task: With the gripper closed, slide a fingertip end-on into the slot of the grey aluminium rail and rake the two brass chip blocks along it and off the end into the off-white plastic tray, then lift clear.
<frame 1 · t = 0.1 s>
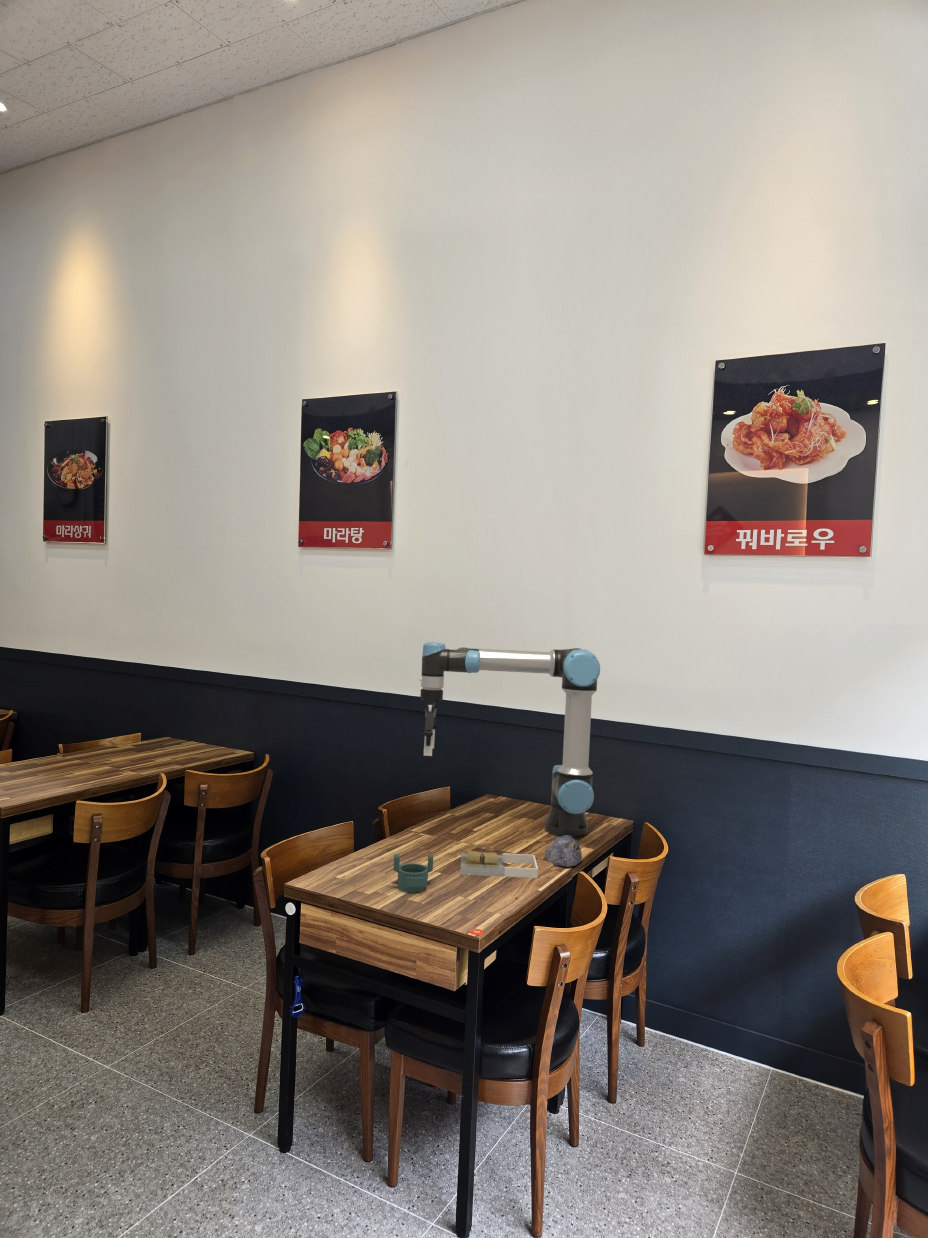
hand: (428, 752, 261), 28 cm above the table, fingers open, 13 cm apart
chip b: (473, 867, 228), point 1 cm above the table, touching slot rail
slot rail: (481, 871, 228), on the table
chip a: (489, 868, 228), point 1 cm above the table, touching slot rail
rock: (561, 864, 239), on the table
tray: (519, 873, 228), on the table
teal round pot: (412, 888, 212), on the table
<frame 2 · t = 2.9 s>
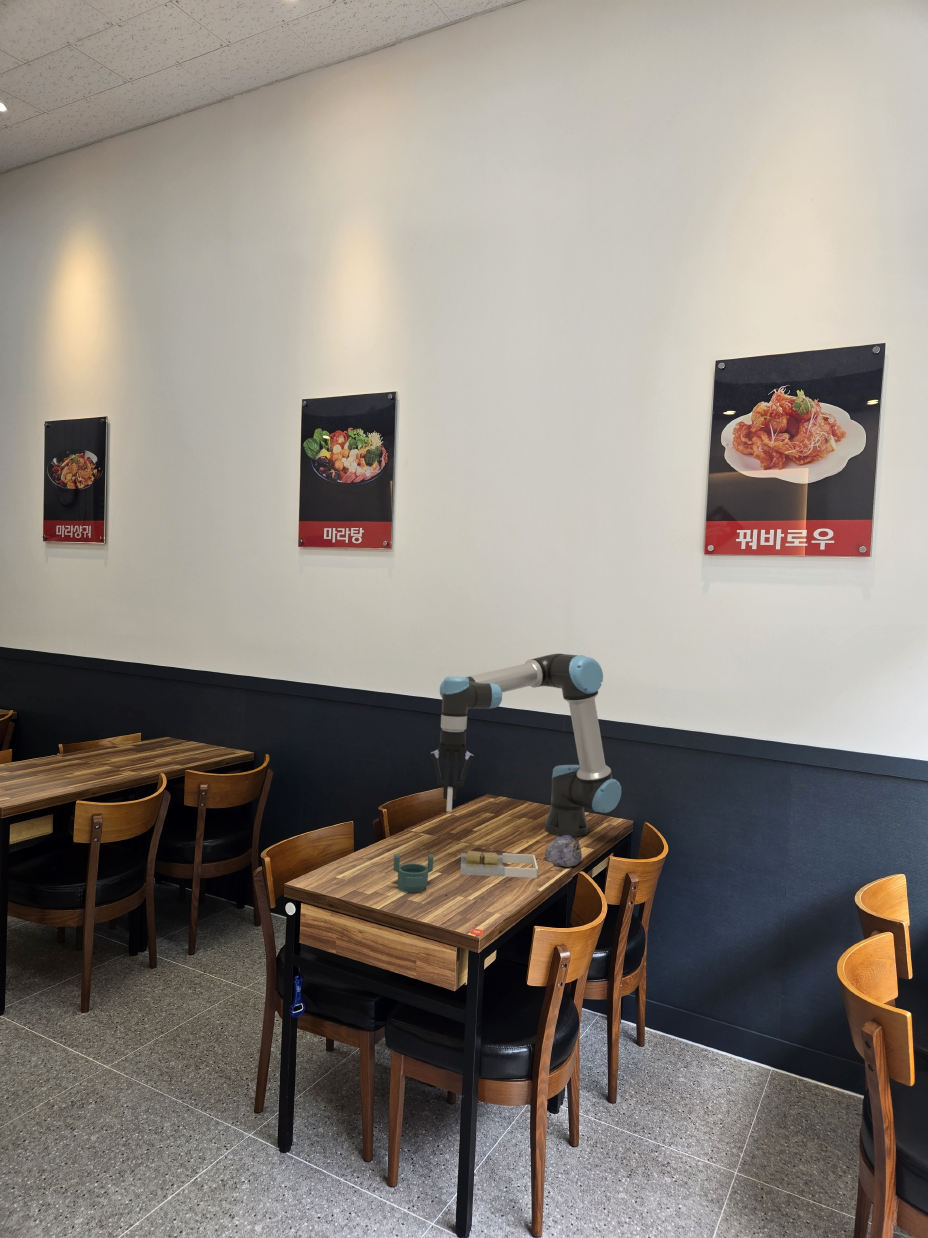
hand: (449, 810, 228), 17 cm above the table, fingers closed
nothing on the table moved.
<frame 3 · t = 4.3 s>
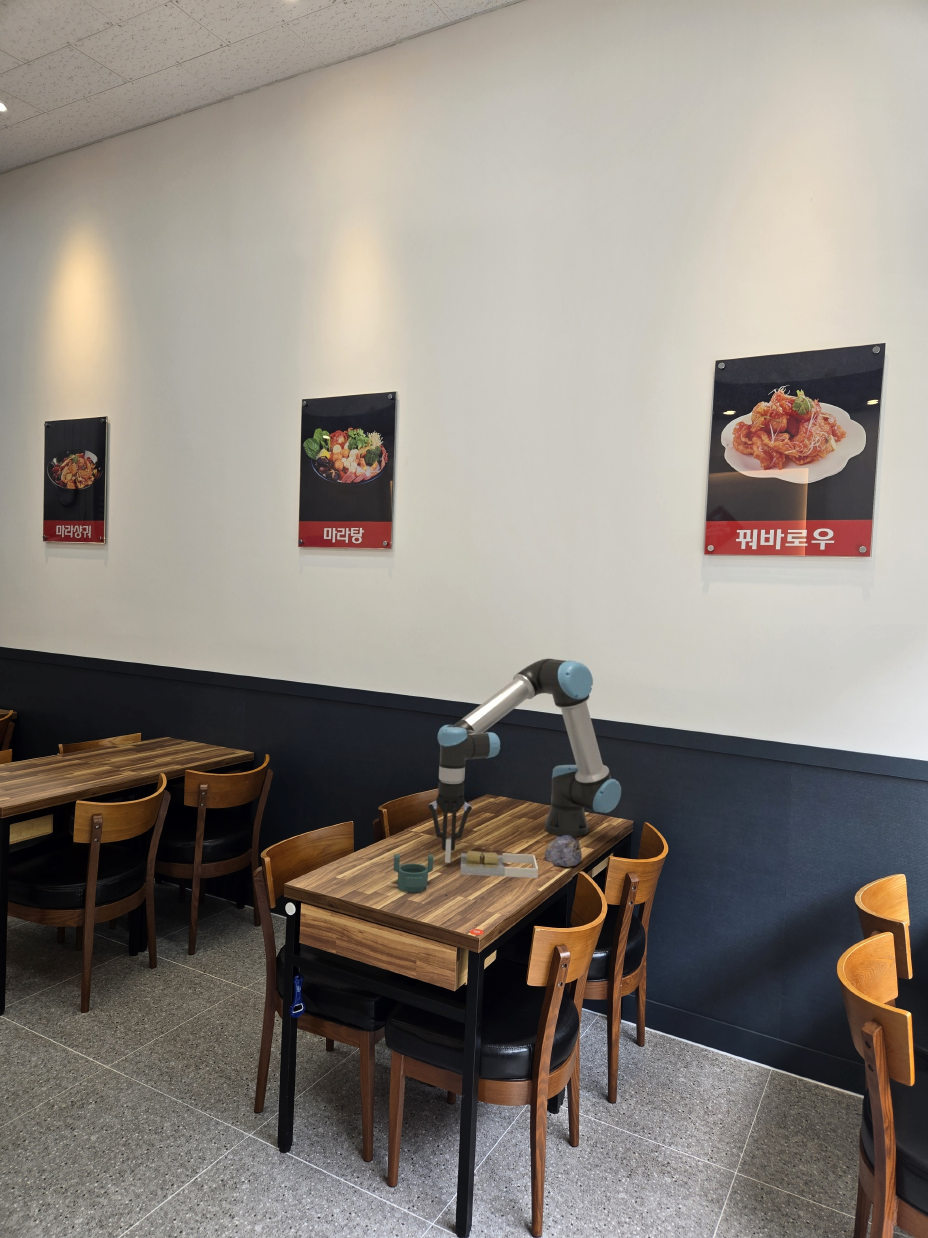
hand: (447, 861, 228), 2 cm above the table, fingers closed
nothing on the table moved.
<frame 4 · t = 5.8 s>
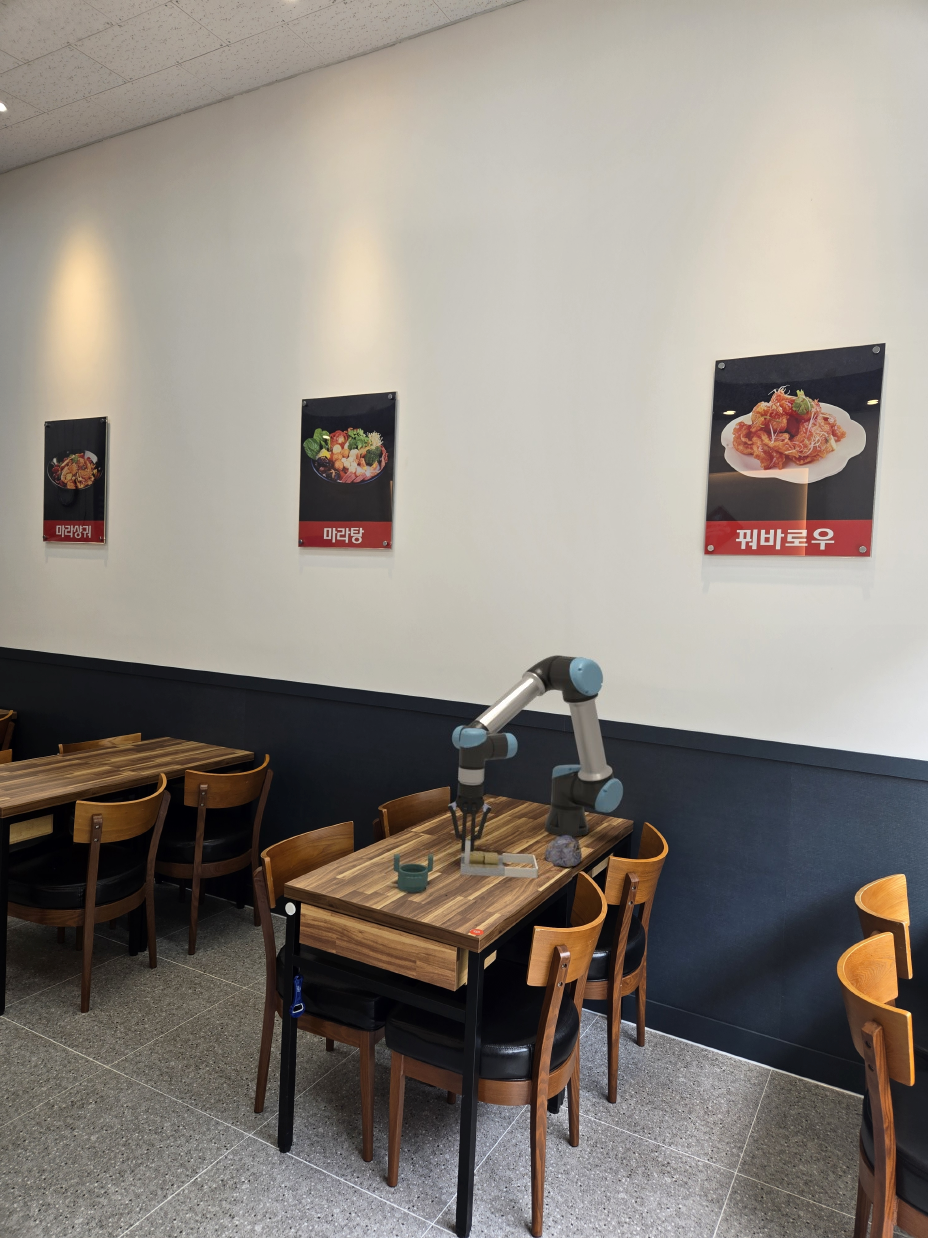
hand: (466, 862, 228), 2 cm above the table, fingers closed
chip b: (476, 867, 229), point 1 cm above the table, touching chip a, gripper
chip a: (490, 868, 228), point 1 cm above the table, touching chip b, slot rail
everything else where it was.
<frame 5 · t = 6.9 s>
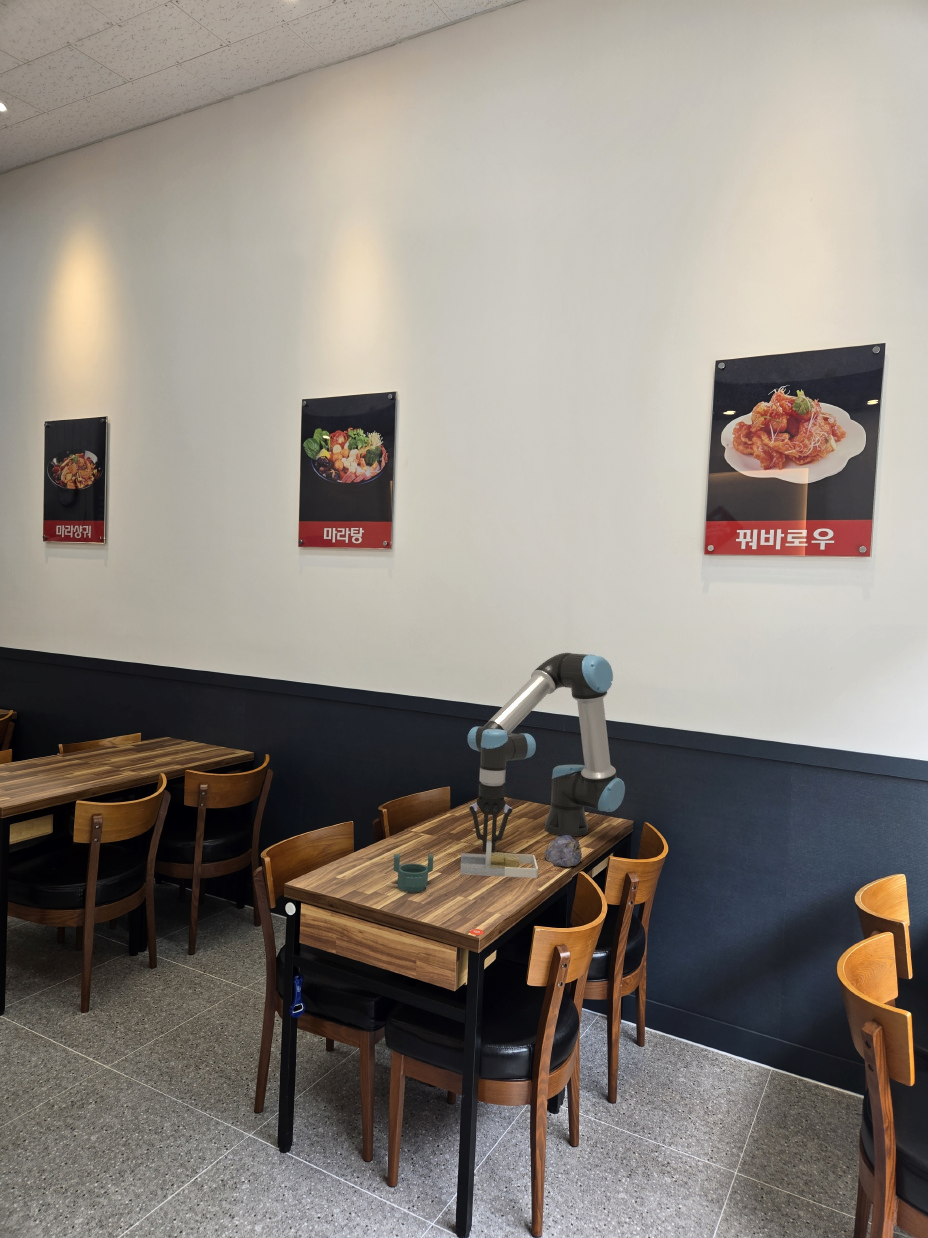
hand: (487, 863, 228), 2 cm above the table, fingers closed
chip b: (496, 868, 228), point 1 cm above the table, touching gripper
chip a: (510, 871, 228), point 1 cm above the table
everything else where it was.
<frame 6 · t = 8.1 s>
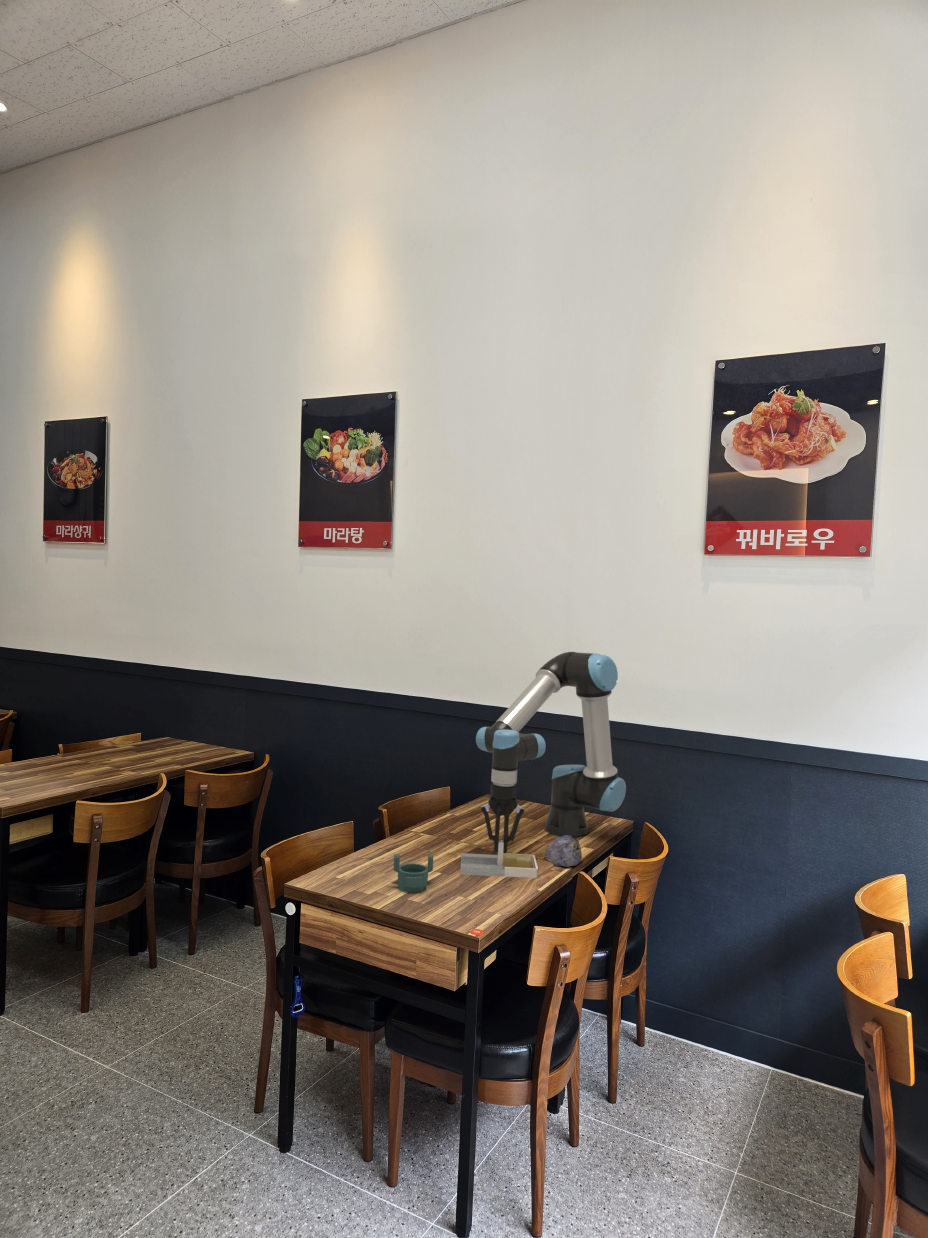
hand: (499, 863, 228), 2 cm above the table, fingers closed
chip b: (508, 868, 228), point 1 cm above the table, touching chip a, gripper, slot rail
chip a: (522, 872, 228), point 1 cm above the table, touching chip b, tray
everything else where it was.
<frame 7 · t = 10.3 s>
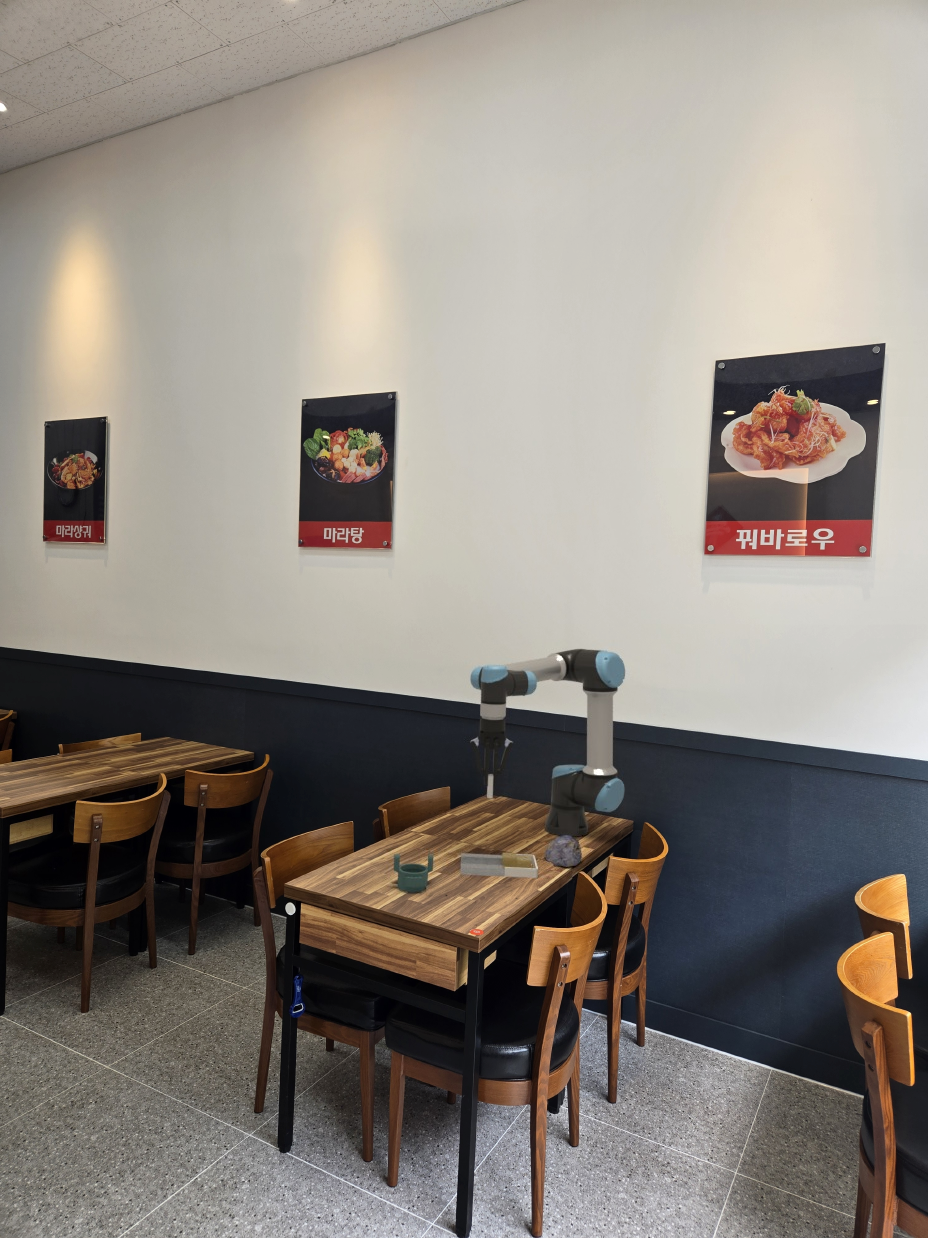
hand: (489, 797, 230), 21 cm above the table, fingers closed
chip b: (508, 868, 228), point 1 cm above the table, touching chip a, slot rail
everything else where it was.
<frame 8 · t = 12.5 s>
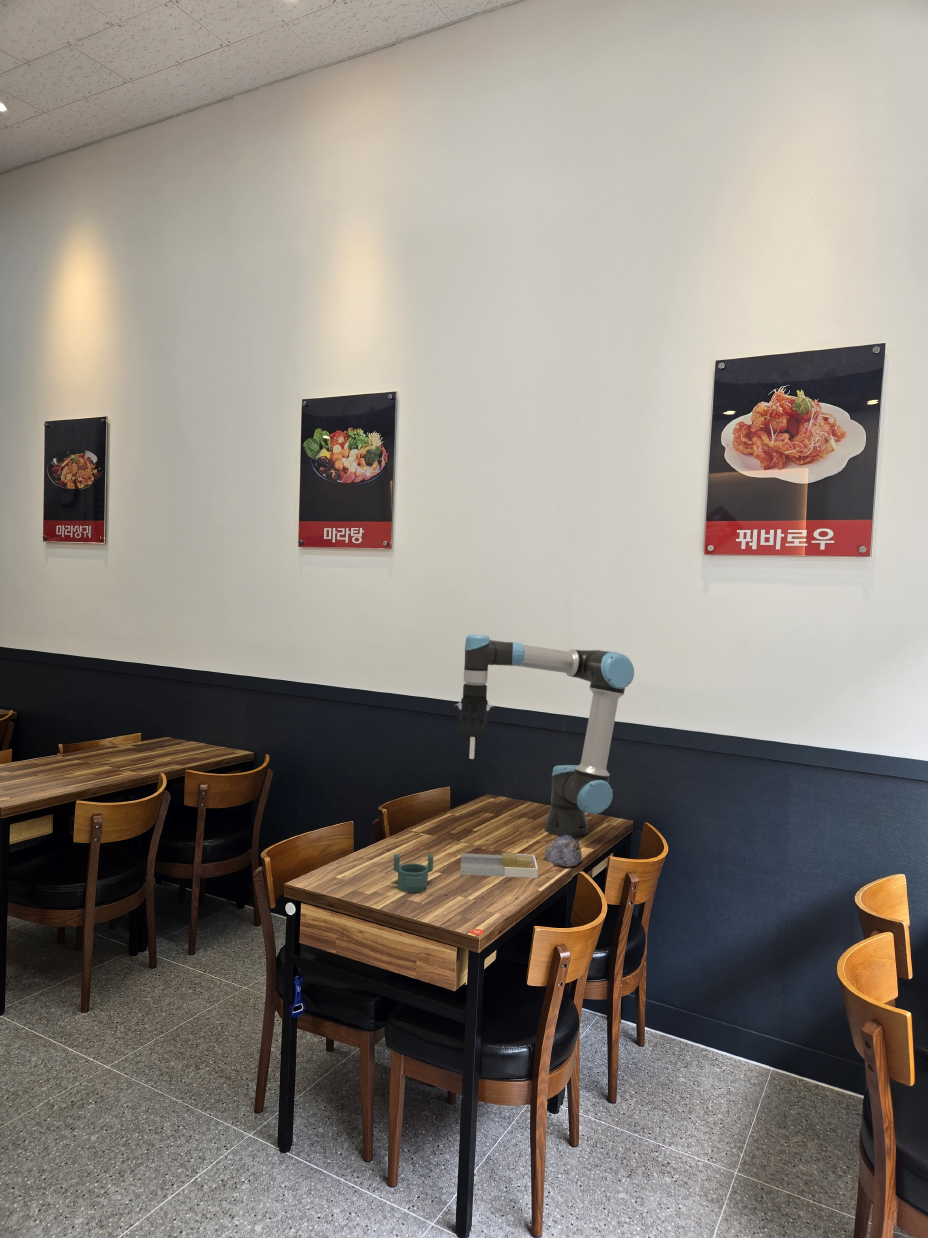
hand: (471, 758, 247), 29 cm above the table, fingers closed
nothing on the table moved.
at the end: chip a inside the target area on the tray (1.3 cm from its centre), point 0.5 cm above the tray's base; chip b inside the target area on the tray (2.9 cm from its centre), point 1.0 cm above the tray's base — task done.
